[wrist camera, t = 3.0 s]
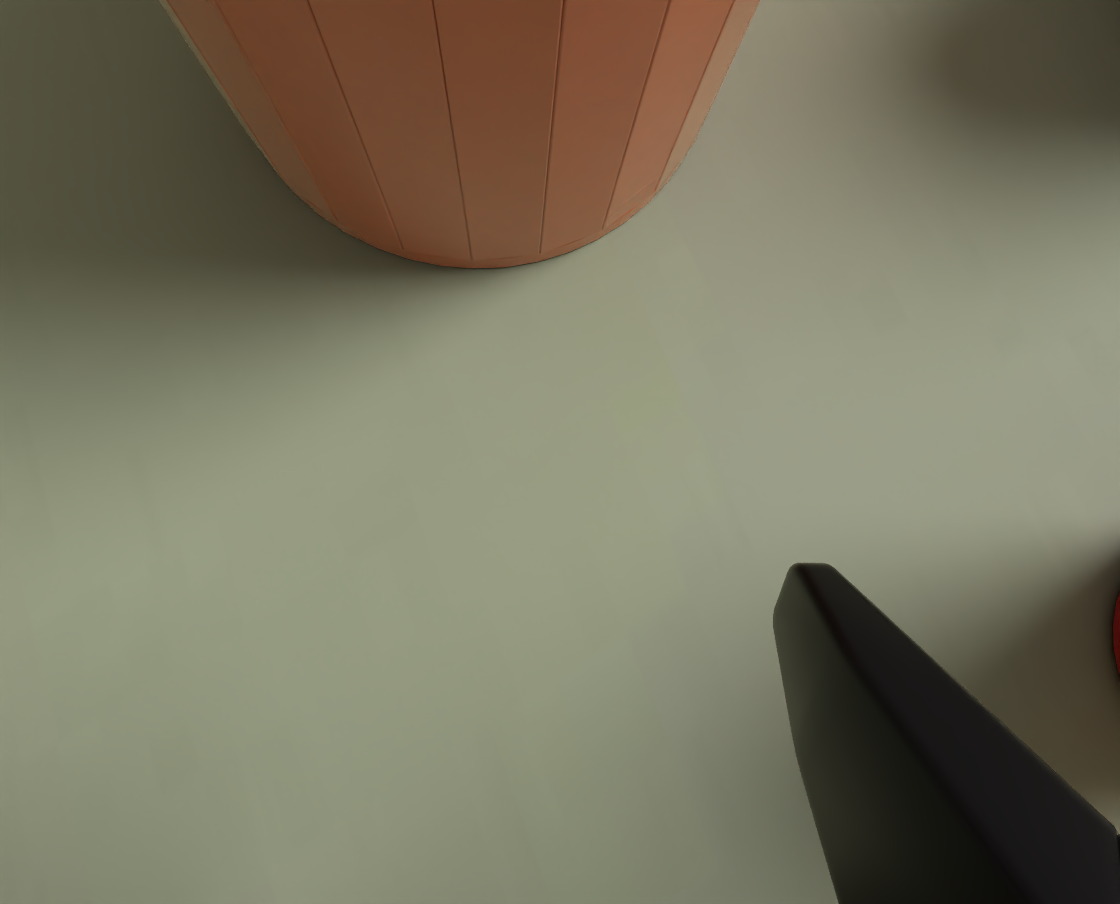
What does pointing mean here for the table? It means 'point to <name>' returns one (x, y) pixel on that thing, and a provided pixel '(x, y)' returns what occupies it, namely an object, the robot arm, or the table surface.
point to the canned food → (1117, 633)
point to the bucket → (469, 111)
